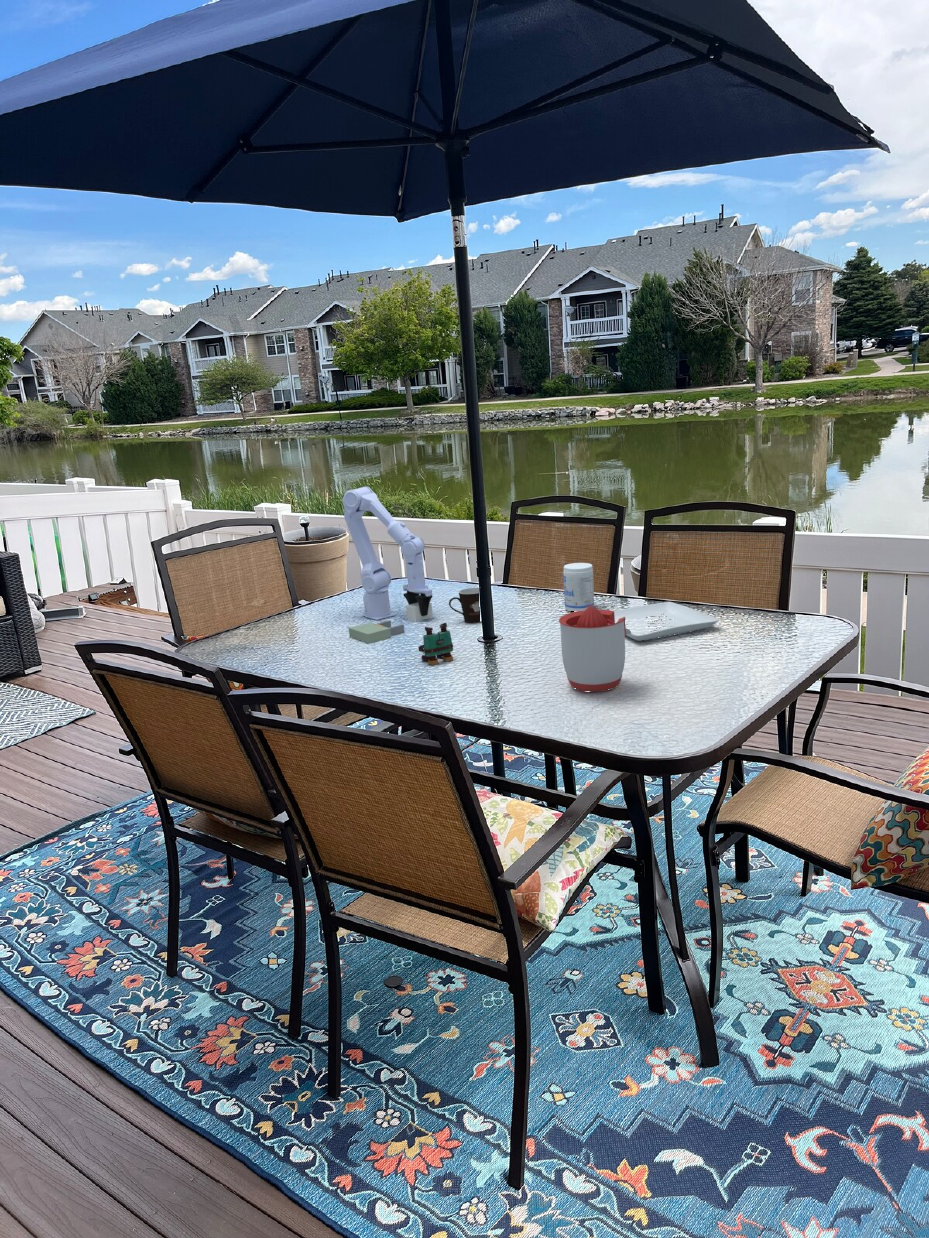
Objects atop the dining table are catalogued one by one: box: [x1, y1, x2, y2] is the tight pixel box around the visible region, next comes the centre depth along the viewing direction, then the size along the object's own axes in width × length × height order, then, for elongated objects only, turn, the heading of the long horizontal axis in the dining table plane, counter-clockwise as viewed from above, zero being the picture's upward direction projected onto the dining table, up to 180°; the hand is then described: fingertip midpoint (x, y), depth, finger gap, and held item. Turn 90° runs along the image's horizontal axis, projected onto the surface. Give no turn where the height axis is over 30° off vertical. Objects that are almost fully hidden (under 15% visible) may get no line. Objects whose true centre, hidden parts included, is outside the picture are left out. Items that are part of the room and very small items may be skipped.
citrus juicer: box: [558, 605, 631, 692], centre depth 200 cm, size 16×17×20 cm
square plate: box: [613, 601, 720, 642], centre depth 245 cm, size 27×27×4 cm
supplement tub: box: [562, 562, 595, 612], centre depth 271 cm, size 10×10×15 cm
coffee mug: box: [448, 587, 481, 624], centre depth 269 cm, size 12×9×10 cm
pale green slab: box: [348, 620, 405, 644], centre depth 263 cm, size 12×14×3 cm
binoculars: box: [418, 622, 454, 666], centre depth 232 cm, size 9×11×10 cm
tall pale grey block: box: [405, 602, 434, 623], centre depth 278 cm, size 5×7×5 cm
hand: (419, 614), depth 279 cm, fingers closed on tall pale grey block, 5 cm apart
